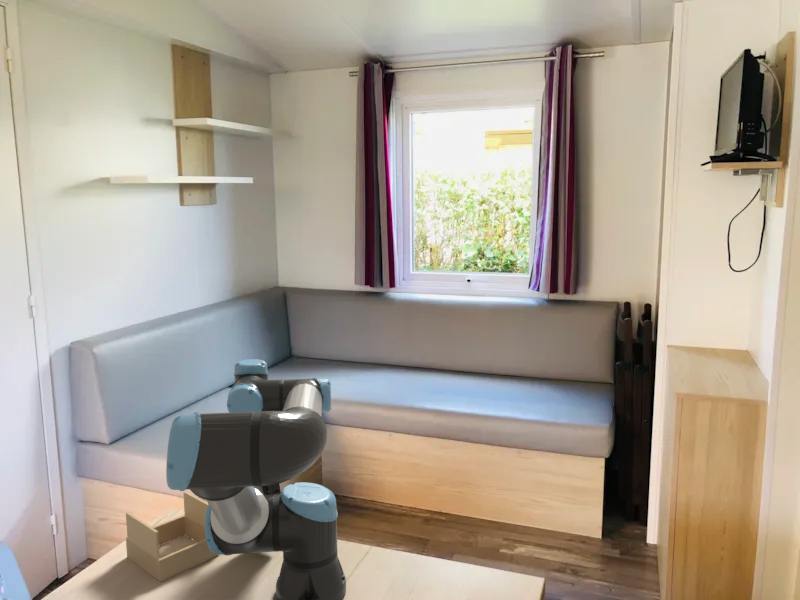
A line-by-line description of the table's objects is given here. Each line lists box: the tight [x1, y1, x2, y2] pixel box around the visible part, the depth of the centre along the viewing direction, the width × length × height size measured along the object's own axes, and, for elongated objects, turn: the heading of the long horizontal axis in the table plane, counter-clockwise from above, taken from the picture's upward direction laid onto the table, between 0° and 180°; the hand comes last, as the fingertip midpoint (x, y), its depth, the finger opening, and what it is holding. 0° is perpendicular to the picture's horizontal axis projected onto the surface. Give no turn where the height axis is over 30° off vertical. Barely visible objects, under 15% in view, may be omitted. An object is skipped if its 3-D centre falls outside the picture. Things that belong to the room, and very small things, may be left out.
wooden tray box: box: [125, 490, 220, 582], centre depth 155 cm, size 16×16×12 cm
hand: (256, 515), depth 156 cm, fingers closed on soya milk, 9 cm apart
